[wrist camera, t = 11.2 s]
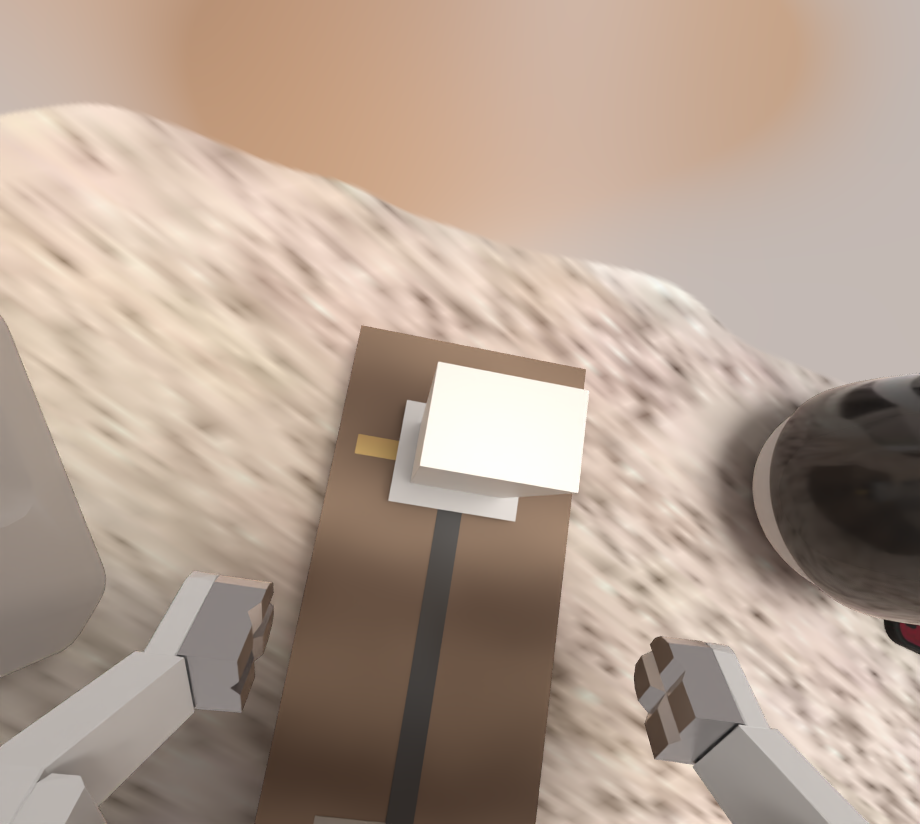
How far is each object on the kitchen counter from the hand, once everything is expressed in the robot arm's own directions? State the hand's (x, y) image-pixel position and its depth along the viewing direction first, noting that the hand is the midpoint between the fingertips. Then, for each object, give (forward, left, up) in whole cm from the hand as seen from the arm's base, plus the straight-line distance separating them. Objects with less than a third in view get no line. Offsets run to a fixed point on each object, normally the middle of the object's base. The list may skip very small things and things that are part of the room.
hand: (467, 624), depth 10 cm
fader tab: (-1, +4, -9) cm, 10 cm away
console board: (+1, -2, -12) cm, 12 cm away
